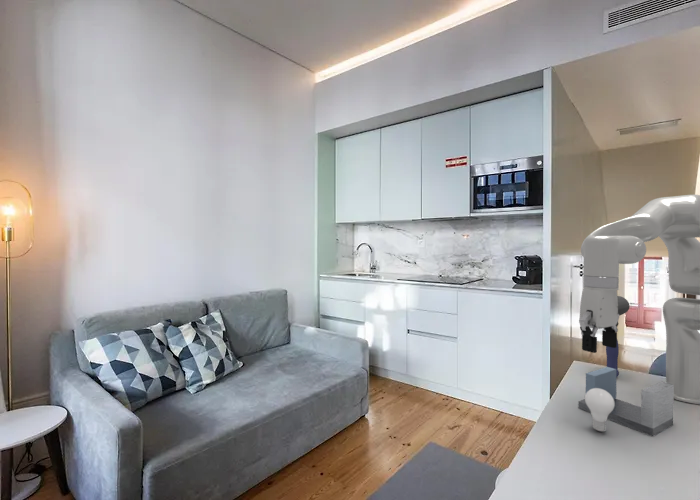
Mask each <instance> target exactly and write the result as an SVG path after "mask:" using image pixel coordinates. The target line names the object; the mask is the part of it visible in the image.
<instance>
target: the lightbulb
mask: <svg viewBox="0 0 700 500" xmlns="http://www.w3.org/2000/svg"><path fill="white" fill-rule="evenodd" d="M584 399H585V402H586V405H587V406H588V408H589V409H590V411H591V413H590V415H591V417H592V428H593V429H594V430H596V431H597V432H599V433H600V432H601V433H602V432H605V431H607V430H606V429H607V428H606V425H607V423H606V421H607V420H608V419H607V417H608V415H609V414H610V413H611V412H612V411H613V409H614V406H615V402H614V399H613V397H612V396H611V394H610V393H608V392H607V391H605V390H603V389H600V388H593V389H590V390H589V391H587V393H586V392H585V395H584Z"/></svg>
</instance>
